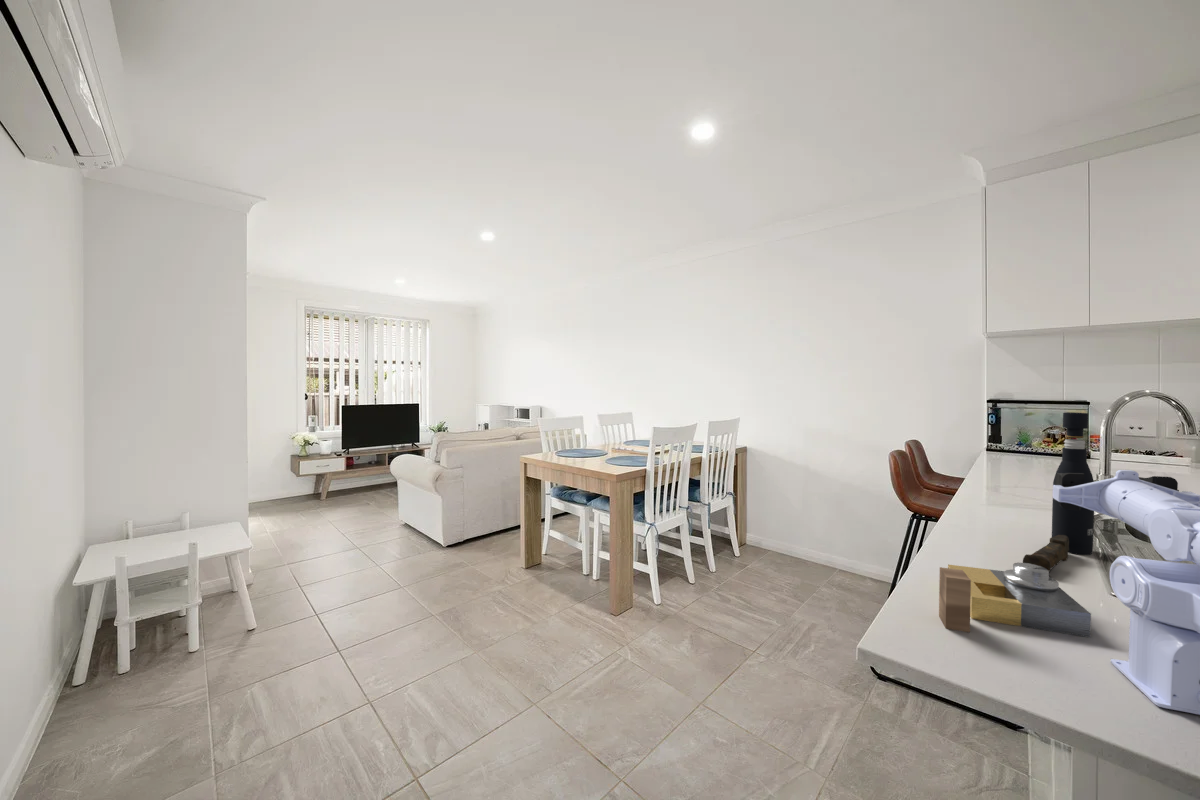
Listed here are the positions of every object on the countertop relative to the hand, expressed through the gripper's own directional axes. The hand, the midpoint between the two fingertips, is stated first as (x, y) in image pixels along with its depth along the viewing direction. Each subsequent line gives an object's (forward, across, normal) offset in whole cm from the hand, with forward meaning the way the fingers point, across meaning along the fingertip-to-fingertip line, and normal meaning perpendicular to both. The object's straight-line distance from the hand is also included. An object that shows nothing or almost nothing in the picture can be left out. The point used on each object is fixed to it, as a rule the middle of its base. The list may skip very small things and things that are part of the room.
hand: (1090, 480), depth 74 cm
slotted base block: (-3, +10, +21) cm, 24 cm away
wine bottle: (+34, -12, +25) cm, 44 cm away
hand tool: (+23, -4, +24) cm, 34 cm away
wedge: (-13, +20, +20) cm, 31 cm away
